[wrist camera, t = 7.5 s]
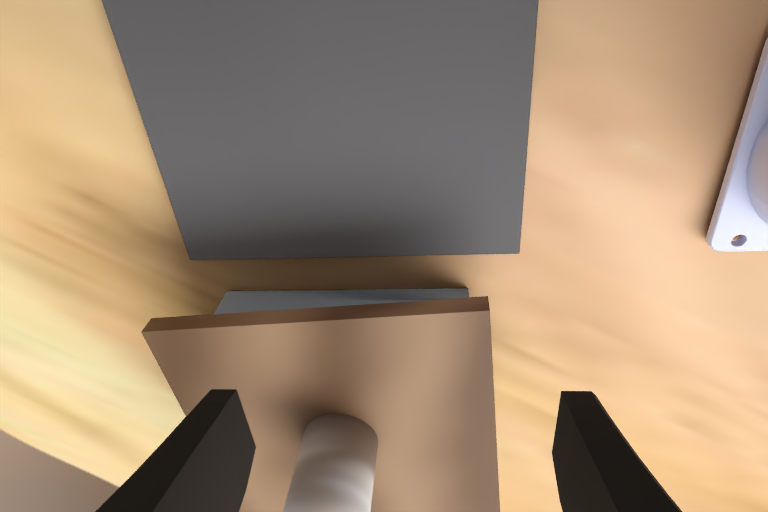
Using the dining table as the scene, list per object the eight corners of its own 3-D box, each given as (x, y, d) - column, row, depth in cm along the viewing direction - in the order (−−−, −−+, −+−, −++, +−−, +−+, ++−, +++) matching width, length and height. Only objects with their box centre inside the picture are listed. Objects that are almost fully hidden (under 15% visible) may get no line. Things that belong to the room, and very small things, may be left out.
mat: (551, -207, 13) (554, -211, 13) (518, 248, 21) (519, 253, 20) (60, -147, 15) (51, -149, 14) (194, 255, 22) (190, 260, 22)
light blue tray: (468, 288, 22) (473, 343, 19) (466, 449, 28) (469, 510, 25) (226, 291, 23) (196, 343, 20) (273, 444, 29) (255, 501, 26)
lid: (487, 296, 18) (500, 388, 14) (498, 508, 25) (509, 607, 21) (151, 318, 20) (87, 404, 16) (247, 508, 27) (218, 599, 23)
